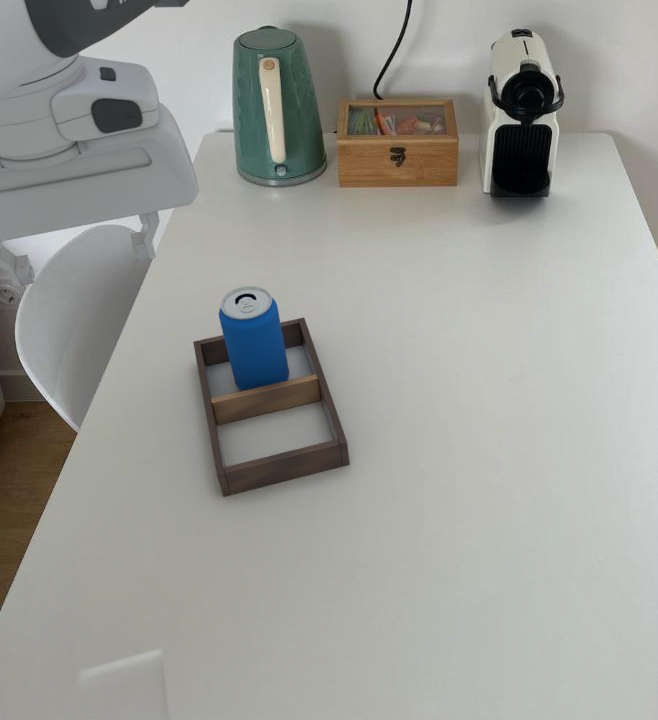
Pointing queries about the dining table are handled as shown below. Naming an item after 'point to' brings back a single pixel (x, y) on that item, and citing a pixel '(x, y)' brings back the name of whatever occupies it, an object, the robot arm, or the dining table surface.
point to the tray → (266, 402)
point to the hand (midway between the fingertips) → (86, 268)
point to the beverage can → (253, 337)
